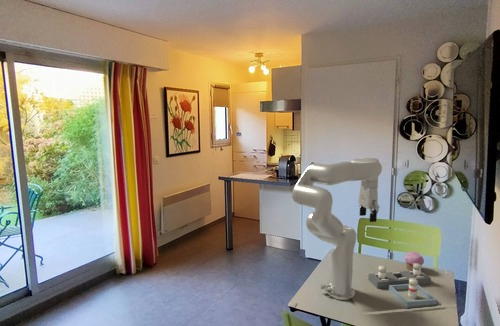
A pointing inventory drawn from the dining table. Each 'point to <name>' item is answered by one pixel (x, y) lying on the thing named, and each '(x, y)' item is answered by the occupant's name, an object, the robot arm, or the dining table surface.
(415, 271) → the right fuse
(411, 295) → the cylinder
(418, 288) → the tray
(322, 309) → the dining table surface
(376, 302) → the dining table surface
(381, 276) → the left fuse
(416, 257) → the cupcake
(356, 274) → the dining table surface
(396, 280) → the fuse holder
